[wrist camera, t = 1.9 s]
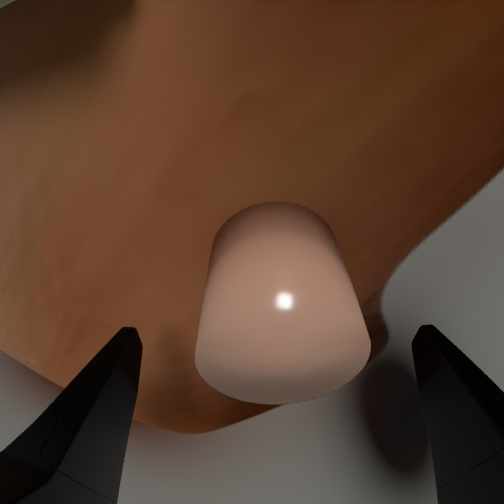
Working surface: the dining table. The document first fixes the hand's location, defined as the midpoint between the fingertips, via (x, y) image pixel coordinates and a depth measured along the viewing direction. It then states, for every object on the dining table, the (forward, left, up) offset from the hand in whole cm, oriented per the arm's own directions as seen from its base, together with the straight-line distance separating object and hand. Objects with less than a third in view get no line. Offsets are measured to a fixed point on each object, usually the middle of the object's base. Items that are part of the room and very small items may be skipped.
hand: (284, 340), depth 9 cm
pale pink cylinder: (0, 0, -4) cm, 4 cm away
